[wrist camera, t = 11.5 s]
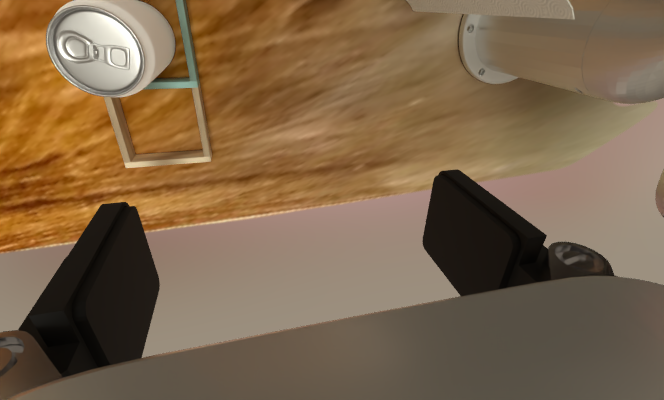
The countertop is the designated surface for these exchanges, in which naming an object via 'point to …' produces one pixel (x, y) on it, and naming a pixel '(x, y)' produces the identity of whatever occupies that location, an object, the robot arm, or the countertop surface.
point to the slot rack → (165, 83)
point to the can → (110, 45)
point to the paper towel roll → (498, 7)
